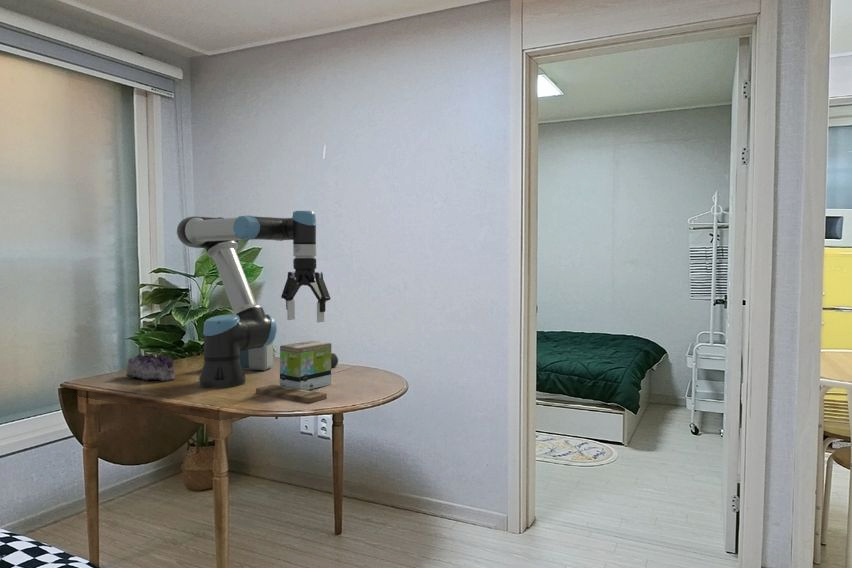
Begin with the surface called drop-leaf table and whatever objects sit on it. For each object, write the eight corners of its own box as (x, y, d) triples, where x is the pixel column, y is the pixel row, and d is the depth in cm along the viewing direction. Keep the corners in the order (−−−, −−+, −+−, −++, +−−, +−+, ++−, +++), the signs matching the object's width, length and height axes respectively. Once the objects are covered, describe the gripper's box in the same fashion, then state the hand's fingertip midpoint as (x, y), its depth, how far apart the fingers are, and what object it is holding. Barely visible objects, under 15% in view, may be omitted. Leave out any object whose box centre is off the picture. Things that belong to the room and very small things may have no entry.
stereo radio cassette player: (216, 369, 231) (215, 318, 230) (228, 365, 239) (227, 316, 238) (265, 371, 226) (264, 319, 226) (275, 367, 234) (275, 317, 234)
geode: (188, 377, 217) (185, 351, 215) (162, 388, 206) (159, 360, 205) (148, 371, 225) (145, 345, 223) (121, 380, 215) (118, 354, 213)
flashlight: (310, 373, 224) (310, 359, 223) (300, 372, 227) (300, 358, 226) (338, 367, 236) (338, 353, 236) (328, 365, 239) (328, 352, 239)
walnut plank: (256, 393, 191) (255, 388, 191) (272, 389, 197) (272, 384, 197) (310, 403, 178) (310, 397, 178) (326, 398, 184) (326, 393, 184)
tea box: (301, 393, 191) (300, 347, 190) (279, 389, 197) (278, 345, 196) (332, 384, 204) (332, 341, 203) (311, 381, 209) (310, 339, 209)
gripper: (270, 257, 202) (271, 319, 203) (324, 257, 188) (325, 324, 189) (286, 257, 208) (287, 317, 209) (340, 257, 194) (341, 321, 195)
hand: (305, 320), depth 199 cm, fingers open, 13 cm apart
